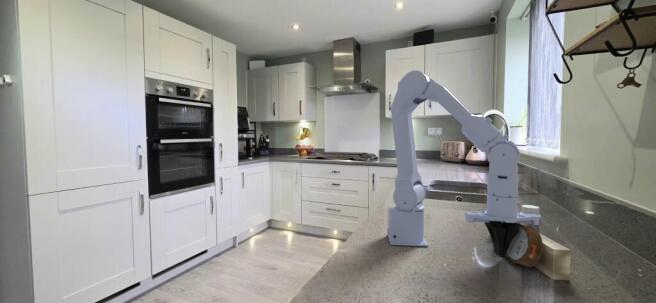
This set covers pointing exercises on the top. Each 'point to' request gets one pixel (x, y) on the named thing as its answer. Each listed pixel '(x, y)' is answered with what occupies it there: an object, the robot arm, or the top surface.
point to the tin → (525, 246)
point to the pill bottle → (532, 210)
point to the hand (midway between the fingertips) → (500, 254)
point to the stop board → (554, 260)
